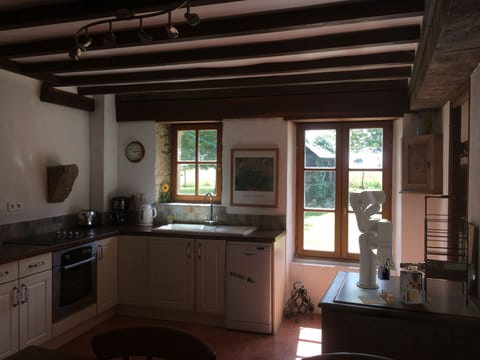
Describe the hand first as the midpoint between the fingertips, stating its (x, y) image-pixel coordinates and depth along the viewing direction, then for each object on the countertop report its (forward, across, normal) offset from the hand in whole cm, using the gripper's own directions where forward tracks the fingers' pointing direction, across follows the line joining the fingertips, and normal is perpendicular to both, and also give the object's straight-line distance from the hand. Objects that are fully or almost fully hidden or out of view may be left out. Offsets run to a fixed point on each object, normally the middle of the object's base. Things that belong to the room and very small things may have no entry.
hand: (384, 278), depth 198 cm
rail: (+12, -1, +2) cm, 12 cm away
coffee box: (+12, +1, +14) cm, 18 cm away
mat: (+12, -1, -6) cm, 13 cm away
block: (0, 0, 0) cm, 0 cm away
